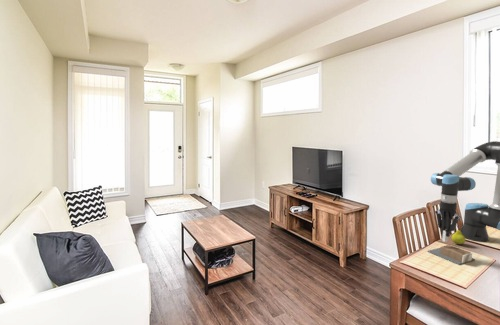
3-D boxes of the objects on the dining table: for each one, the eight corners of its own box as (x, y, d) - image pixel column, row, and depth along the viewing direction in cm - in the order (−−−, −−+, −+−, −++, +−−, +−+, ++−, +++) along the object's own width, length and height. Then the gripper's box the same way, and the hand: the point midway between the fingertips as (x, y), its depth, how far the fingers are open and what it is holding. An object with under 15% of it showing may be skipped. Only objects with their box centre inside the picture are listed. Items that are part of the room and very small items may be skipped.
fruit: (466, 244, 170) (468, 226, 169) (462, 247, 167) (463, 228, 165) (454, 240, 176) (455, 223, 175) (449, 243, 173) (450, 225, 171)
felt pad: (442, 247, 166) (442, 246, 166) (474, 260, 150) (474, 259, 150) (427, 251, 160) (427, 250, 160) (458, 264, 145) (458, 263, 145)
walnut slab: (449, 244, 159) (472, 253, 148) (448, 251, 160) (471, 260, 149) (440, 246, 156) (463, 255, 145) (439, 253, 157) (462, 262, 146)
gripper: (432, 199, 159) (429, 238, 162) (456, 205, 147) (452, 246, 150) (441, 198, 162) (437, 236, 165) (465, 203, 150) (461, 244, 153)
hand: (444, 241), depth 158 cm, fingers closed
